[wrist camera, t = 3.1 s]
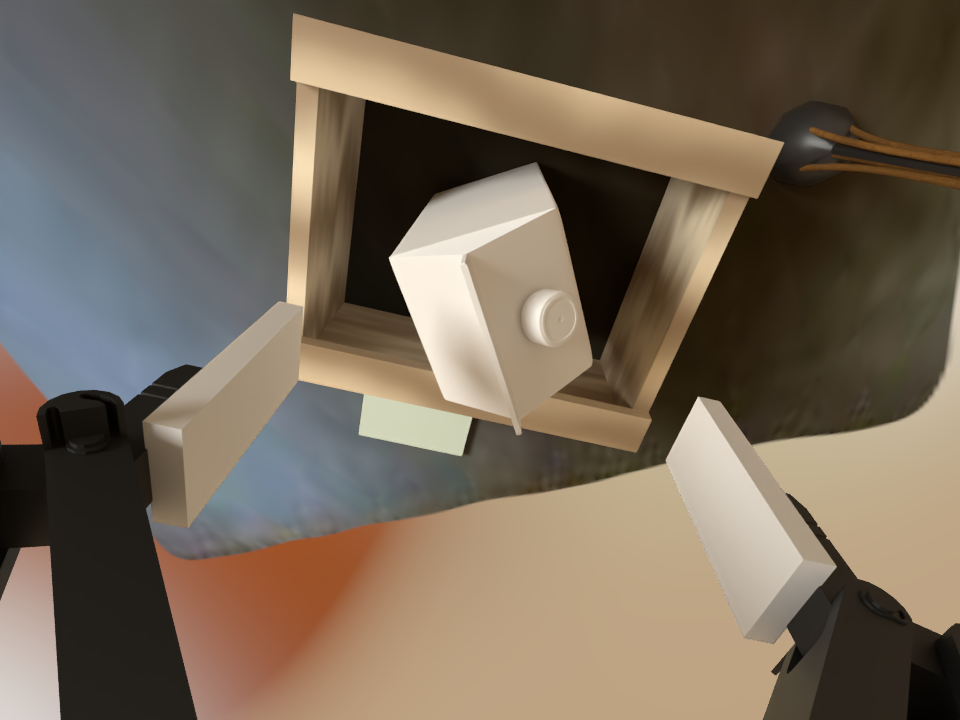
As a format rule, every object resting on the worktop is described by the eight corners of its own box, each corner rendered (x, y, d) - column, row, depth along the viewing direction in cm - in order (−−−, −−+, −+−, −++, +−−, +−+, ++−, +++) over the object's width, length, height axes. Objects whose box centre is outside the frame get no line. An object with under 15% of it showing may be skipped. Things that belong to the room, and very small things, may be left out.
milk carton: (466, 289, 37) (433, 454, 20) (433, 193, 34) (362, 292, 17) (561, 263, 35) (611, 415, 19) (537, 160, 32) (571, 232, 16)
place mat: (373, 338, 39) (371, 342, 38) (485, 363, 39) (485, 367, 39) (360, 430, 43) (358, 434, 43) (462, 451, 44) (461, 456, 43)
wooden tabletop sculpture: (771, 88, 30) (1156, 79, 12) (854, 75, 29) (1381, 45, 12) (760, 190, 33) (1063, 303, 15) (836, 179, 32) (1242, 283, 14)
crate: (355, 36, 30) (293, 13, 21) (706, 129, 31) (784, 142, 22) (329, 311, 38) (278, 375, 29) (607, 373, 39) (636, 452, 31)
